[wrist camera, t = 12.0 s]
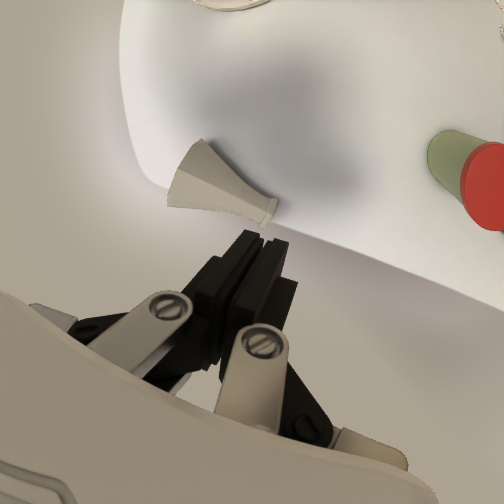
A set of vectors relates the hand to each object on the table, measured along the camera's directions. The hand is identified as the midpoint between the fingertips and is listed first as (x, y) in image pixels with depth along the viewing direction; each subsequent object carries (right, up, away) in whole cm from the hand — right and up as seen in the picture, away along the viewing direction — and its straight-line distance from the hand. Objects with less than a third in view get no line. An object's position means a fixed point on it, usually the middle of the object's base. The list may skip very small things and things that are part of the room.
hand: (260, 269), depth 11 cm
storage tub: (+19, +10, +11) cm, 24 cm away
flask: (-7, +9, +17) cm, 20 cm away
